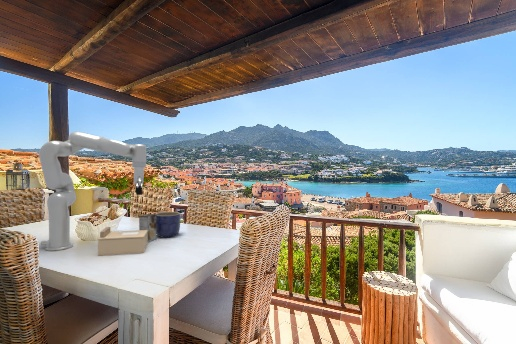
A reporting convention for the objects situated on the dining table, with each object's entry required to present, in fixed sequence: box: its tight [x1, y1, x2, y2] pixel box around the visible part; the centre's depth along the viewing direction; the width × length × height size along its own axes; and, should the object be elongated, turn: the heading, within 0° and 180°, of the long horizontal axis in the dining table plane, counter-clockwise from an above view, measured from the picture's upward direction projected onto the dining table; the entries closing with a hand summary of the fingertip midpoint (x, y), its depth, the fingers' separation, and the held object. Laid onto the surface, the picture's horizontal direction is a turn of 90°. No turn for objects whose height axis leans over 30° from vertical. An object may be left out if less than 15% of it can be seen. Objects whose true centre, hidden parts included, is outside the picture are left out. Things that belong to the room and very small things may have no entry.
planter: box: [155, 211, 181, 238], centre depth 185 cm, size 17×17×15 cm
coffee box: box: [138, 213, 157, 244], centre depth 172 cm, size 9×6×16 cm
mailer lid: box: [97, 226, 148, 241], centre depth 152 cm, size 22×15×4 cm
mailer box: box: [97, 233, 148, 257], centre depth 152 cm, size 22×15×8 cm
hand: (138, 193), depth 163 cm, fingers open, 9 cm apart
